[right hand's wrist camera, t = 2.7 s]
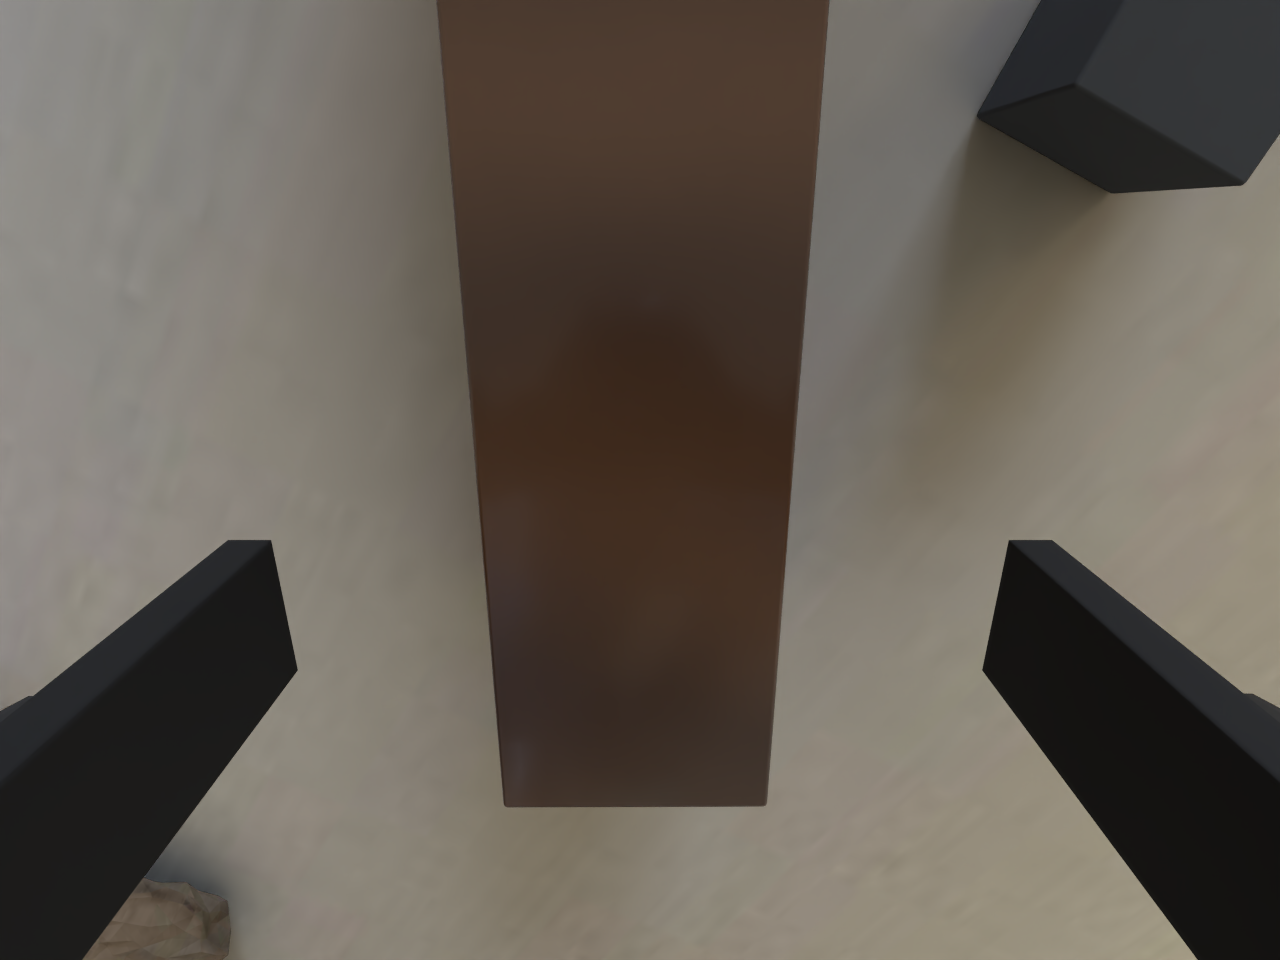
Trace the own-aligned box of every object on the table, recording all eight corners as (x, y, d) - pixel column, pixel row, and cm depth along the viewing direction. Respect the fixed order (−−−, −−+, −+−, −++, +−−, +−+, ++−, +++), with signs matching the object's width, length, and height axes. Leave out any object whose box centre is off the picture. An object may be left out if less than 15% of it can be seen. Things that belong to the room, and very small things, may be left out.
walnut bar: (720, 597, 21) (767, 808, 13) (551, 598, 21) (503, 809, 13) (779, -753, 12) (1016, -2371, 5) (485, -754, 12) (233, -2380, 5)
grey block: (1112, 195, 17) (1244, 187, 13) (974, 117, 17) (1072, 86, 13) (1223, 22, 16) (1404, -41, 12) (1078, -69, 15) (1222, -164, 12)
